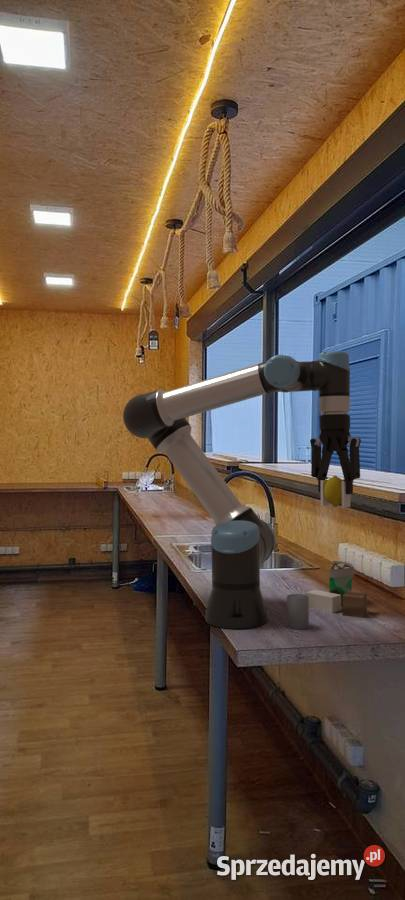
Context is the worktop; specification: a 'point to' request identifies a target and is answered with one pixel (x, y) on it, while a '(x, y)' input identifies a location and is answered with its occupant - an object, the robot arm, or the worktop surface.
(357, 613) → the walnut cube
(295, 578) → the worktop surface
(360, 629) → the worktop surface
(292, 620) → the slate cylinder
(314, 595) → the off-white brick
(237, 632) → the worktop surface
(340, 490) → the lemon
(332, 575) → the food container
